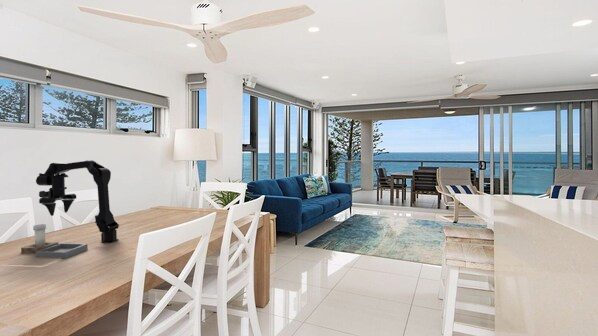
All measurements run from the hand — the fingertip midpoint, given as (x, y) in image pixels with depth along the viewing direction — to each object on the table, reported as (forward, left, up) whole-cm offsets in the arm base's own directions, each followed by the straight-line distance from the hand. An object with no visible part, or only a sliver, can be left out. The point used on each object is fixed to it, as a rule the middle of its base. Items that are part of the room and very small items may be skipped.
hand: (59, 214), depth 174 cm
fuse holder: (-6, +19, -14) cm, 25 cm away
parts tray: (-20, +22, -14) cm, 33 cm away
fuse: (-6, +19, -14) cm, 24 cm away
